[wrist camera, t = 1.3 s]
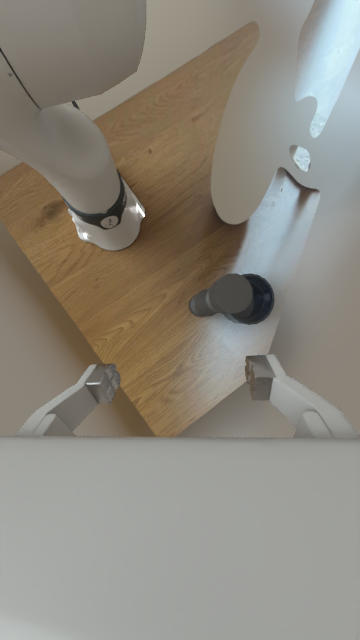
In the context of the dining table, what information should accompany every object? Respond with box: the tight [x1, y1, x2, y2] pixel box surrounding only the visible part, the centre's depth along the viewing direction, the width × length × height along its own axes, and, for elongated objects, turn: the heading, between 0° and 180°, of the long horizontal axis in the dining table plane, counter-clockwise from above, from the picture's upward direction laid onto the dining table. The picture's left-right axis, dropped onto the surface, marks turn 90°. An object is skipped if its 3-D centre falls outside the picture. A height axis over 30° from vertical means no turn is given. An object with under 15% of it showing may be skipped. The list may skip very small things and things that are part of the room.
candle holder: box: [189, 274, 253, 316], centre depth 37 cm, size 6×6×25 cm
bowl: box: [224, 274, 274, 325], centre depth 48 cm, size 13×13×6 cm
